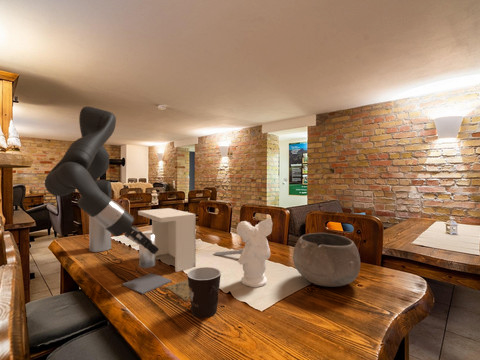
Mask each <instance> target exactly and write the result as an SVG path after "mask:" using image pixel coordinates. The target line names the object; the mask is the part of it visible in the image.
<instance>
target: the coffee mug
mask: <svg viewBox="0 0 480 360" xmlns="http://www.w3.org/2000/svg"><path fill="white" fill-rule="evenodd" d="M186 275H187V279H188V284H189V292H190V299H189V300H190V308H191V314H192V316H193V317H195V318H198V319H208V318H210V317H211V318H212V317H213V316H215V315H216V313H217V309H218V301H219V294H220V285H221V277H222V272H221V270H220V269H219V268H215V267H211V266H210V267H209V266H203V267H197V268H196V267H195V268H194V269H191V270H189V271H188V272H187V273H186Z"/></svg>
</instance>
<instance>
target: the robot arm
mask: <svg viewBox="0 0 480 360" xmlns="http://www.w3.org/2000/svg"><path fill="white" fill-rule="evenodd" d="M78 117H79V119H78V120H79V121H78V122H79V123H78V124H79V130H80V134H81V137H80V138H77V139H76V140H75V141H73V142H72V143H71V144H70V146H69V147H68V148H67V150H66V151H65V153H64V155H63V157H62V158H61V159H60V160H59V161H58V162H57V163H56V165H55V166H54V167H52V169H51V170H50V171H49V172H48V174H47V175H46V176H45V179H44V187H45V189H46V191H47V192H48V193H49V194H51V195H52V196H56V197H64V196H65V197H66V196H68V195H70V194H71V193H73V192H74V191H76V190H77V192H78V193H79V195H80V197H79V198H78V200H77V206H78V207H79V209H80V210H82V211H83V212H85V213H86V215H87V214H88V219H89V220H88V221H89V222H88V224H89V225H88V230H89V232H88V234H89V236H88V239H89V240H88V241H89V243H88V244H89V245H88V247H89V248H88V250H89V252H92V253H98V252H104V251H109V250H111V249H112V235H113V236H114V237H120V236H122V235H123V234H124V237H126V238H127V239H129V240H130V241H132V242H133V243H135V244H136V245H138V246H139V244H141V245H142V246H143V247H144V248H146V249H148V250H149V251H150V252H151V253H153V254H156V252H157V251H158V250H159V249H158V248H157V247H156V246H155V245H154V244H152V241H151V240H149V239H148V238H147V237H146V235H145V234H144V232H143V231H141V230H140V228H139V227H137V226H135V225H133V223H134V222H135V217H134V216H133V215H131V213H129V212H128V211H127V210H126V209H125V208H123V207H122V205H120V204H119V203H118V202H116V201H114V200H113V199H112V189H113V188H112V183H111V181H110V180H98V179H100V178H101V177H102V176H103V175H104V174H105V173H106V172H107V171H108V169H109V168H110V153H109V151H108V150H107V148H106V147H105V146H104V145H105V144H106V142H107V141H108V140H109V139H110V138H111V136H112V135H113V133H114V132H115V129H116V123H117V119H116V115H115V114H114V113H113V112H111V111H108V110H104V109H102V108H101V109H100V108H97V107H92V106H83V107H82V108H81V109H80V112H79V116H78ZM146 240H147V242H146V243H145V244H144V242H145V241H146Z"/></svg>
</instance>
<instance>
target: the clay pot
mask: <svg viewBox="0 0 480 360" xmlns="http://www.w3.org/2000/svg"><path fill="white" fill-rule="evenodd" d="M358 249H359V248H358V247H357V245H356V244H355V242H354V241H353V240H351V239H350V238H348V237H346V236H343V235H340V234H334V233H328V232H314V233H311V232H310V233H306V234H303V235H301V236H300V237H299V238H298V239H297V242H296V243H295V245H294V247H293V251H292V252H293V253H292V262H293V264H294V267H295V269H296V270H297V272H298V273H299V274H300V275H301V276H302V277H303V278H304V279H306V280H307V281H308V282H310V283H312V284H314V285H317V286H321V287H327V288H334V287H335V288H337V287H343V286H346V285H348V284H351V283H353V282H354V281H355V280H356V279H357V278H358V276H359V274H360V270H361V258H360V252H359V250H358Z"/></svg>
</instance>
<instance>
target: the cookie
mask: <svg viewBox="0 0 480 360" xmlns="http://www.w3.org/2000/svg"><path fill="white" fill-rule="evenodd" d="M164 288H165V289H166V290H168V291H170V292H171V293H172V294H174V295H176V297H178V298H180V299H181V300H183V301H189V300H190V292H189V284H188V278H187V279H186V280H182V281H179V282H176V283H172V284H171V285H167V286H165V287H164Z"/></svg>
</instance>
